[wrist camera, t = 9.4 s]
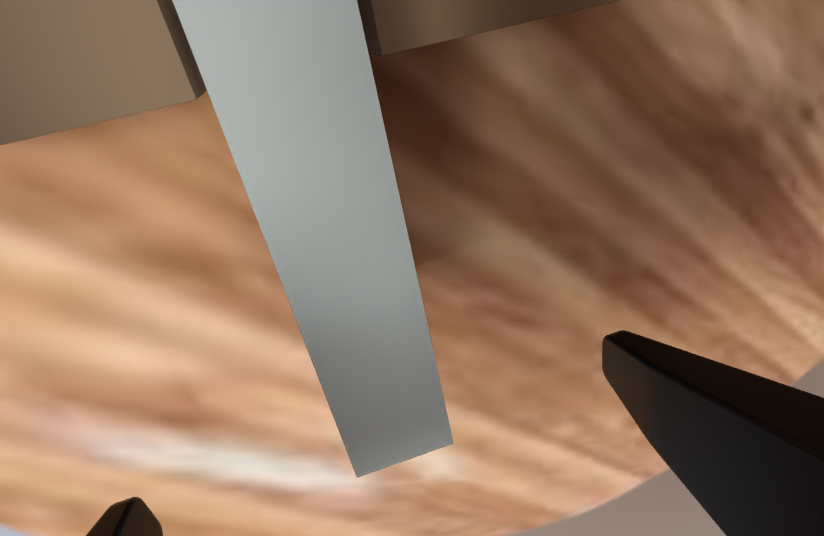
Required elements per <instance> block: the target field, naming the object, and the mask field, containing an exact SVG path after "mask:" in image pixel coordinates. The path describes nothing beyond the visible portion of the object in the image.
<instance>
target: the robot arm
mask: <svg viewBox="0 0 824 536" xmlns="http://www.w3.org/2000/svg"><path fill="white" fill-rule="evenodd" d="M602 368H603V372H604V375H605V377H606V379H607V380H608V382H609V383H610V385H611V386H612V388H613V389H614V391H615V392H616V394H617V395H618V397H619V398H620V400H621V401H622V403H623V404H624V406H625V407H626V409H627V410H628V412H629V413H630V415H631V416H632V418H633V419H634V421H635V422H636V424H637V425H638V427H639V428H640V430H641V431H642V433H643V434H644V435H645V437H646V438H647V440H648V441H649V442H650V444H651V445H652V446H653V448H654V449H655V450H656V451H657V453H658V454H659V455H660V456H661V457H662V459H663V460H664V461H665V462H666V463H667V465H668V466H669V467H670V468H671V470H672V471H673V472H674V473H675V474H676V476H677V477H678V478H679V479H680V480H681V482H682V483H683V484H684V485H685V486H686V487H687V489H688V490H689V491H690V492H691V494H692V495H693V496H694V497H695V498H696V500H697V501H698V502H699V503H700V504H701V506H702V507H703V508H704V509H705V510H706V512H707V513H708V514H709V515H710V516H711V518H712V519H713V520H714V521H715V523H716V524H717V525H718V526H719V527H720V529H721V530H722V531H723V532H724V533H725V535H727V536H824V398H822V397H820V396H817V395H813V394H811V393H808V392H805V391H802V390H799V389H796V388H793V387H790V386H787V385H784V384H781V383H778V382H775V381H772V380H770V379H767V378H764V377H761V376H758V375H755V374H752V373H749V372H746V371H743V370H740V369H737V368H734V367H731V366H728V365H725V364H722V363H719V362H717V361H714V360H711V359H708V358H705V357H702V356H699V355H696V354H693V353H690V352H687V351H684V350H681V349H678V348H675V347H672V346H669V345H666V344H664V343H661V342H658V341H655V340H652V339H649V338H646V337H643V336H640V335H637V334H634V333H631V332H628V331H624V330H622V331H618V332H615V333H612V334H609V335H606V336H605V337H604V339H603V342H602ZM86 536H163V531H162V527H161V525H160V523H159V521H158V520H157V518H156V517H155V516H154V514H153V513H152V512H151V510H150V509H149V508H148V507H147V505H146V504H145V503H144V501H143V500H142V499H141V498H139V497H132V498H129V499H126V500H123V501H120V502H117V503H115V504H113V505H111V506H110V507H109V508H108V509H107V510H106V512H105V513H104V514H103V515H102V517H101V518H100V519H99V520H98V521H97V523H96V524H95V525H94V526H93V528H92V529H91V530H90V531H89V532H88V534H87V535H86Z"/></svg>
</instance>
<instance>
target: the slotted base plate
mask: <svg viewBox="0 0 824 536" xmlns="http://www.w3.org/2000/svg"><path fill="white" fill-rule="evenodd" d="M614 1H618V0H357V3H358V8H359V12H360V17H361V21H362V26H363V30H364V35H365V40H366V44H367V49H368V53H372V54H377V55H381V56H384V55H388V54H392V53H396V52H401V51H405V50H409V49H413V48H418V47H422V46H426V45H431V44H435V43H439V42H443V41H448V40H452V39H456V38H460V37H465V36H469V35H473V34H477V33H482V32H486V31H490V30H495V29H499V28H503V27H507V26H512V25H516V24H520V23H524V22H529V21H533V20H537V19H541V18H546V17H550V16H554V15H559V14H563V13H567V12H571V11H576V10H580V9H584V8H588V7H593V6H597V5H601V4H605V3H610V2H614ZM206 91H207V89H206V86H205V84H204V81H203V78H202V76H201V73H200V71H199V68H198V65H197V63H196V60H195V58H194V55H193V53H192V50H191V47H190V45H189V42H188V40H187V37H186V34H185V32H184V29H183V27H182V24H181V22H180V19H179V16H178V14H177V11H176V9H175V6H174V3H173V1H172V0H0V145H4V144H8V143H12V142H17V141H21V140H25V139H29V138H34V137H38V136H42V135H46V134H51V133H55V132H59V131H64V130H68V129H72V128H76V127H81V126H85V125H89V124H93V123H98V122H102V121H106V120H110V119H115V118H119V117H123V116H128V115H132V114H136V113H140V112H145V111H149V110H153V109H157V108H162V107H166V106H170V105H174V104H179V103H183V102H187V101H192V100H196V99H197V98H199V97H200V96H201V95H202V94H203V93H205V92H206Z"/></svg>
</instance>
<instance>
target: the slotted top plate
mask: <svg viewBox="0 0 824 536" xmlns="http://www.w3.org/2000/svg"><path fill="white" fill-rule="evenodd" d="M172 1H173V3H174V6H175V9H176V11H177V14H178V16H179V19H180V22H181V24H182V27H183V29H184V32H185V34H186V37H187V40H188V42H189V45H190V47H191V50H192V53H193V55H194V58H195V60H196V63H197V65H198V68H199V71H200V73H201V76H202V78H203V81H204V84H205V86H206V89H207V91H208V94H209V96H210V99H211V102H212V104H213V107H214V109H215V112H216V115H217V117H218V120H219V122H220V125H221V127H222V130H223V133H224V135H225V138H226V140H227V143H228V146H229V148H230V151H231V153H232V156H233V158H234V161H235V164H236V166H237V169H238V171H239V174H240V177H241V179H242V182H243V184H244V187H245V189H246V192H247V195H248V197H249V200H250V202H251V205H252V208H253V210H254V213H255V215H256V218H257V221H258V223H259V226H260V228H261V231H262V233H263V236H264V239H265V241H266V244H267V246H268V249H269V252H270V254H271V257H272V259H273V262H274V264H275V267H276V270H277V272H278V275H279V277H280V280H281V283H282V285H283V288H284V290H285V293H286V295H287V298H288V301H289V303H290V306H291V308H292V311H293V314H294V316H295V319H296V321H297V324H298V326H299V329H300V332H301V334H302V337H303V339H304V342H305V345H306V347H307V350H308V352H309V355H310V357H311V360H312V363H313V365H314V368H315V370H316V373H317V376H318V378H319V381H320V383H321V386H322V388H323V391H324V394H325V396H326V399H327V401H328V404H329V407H330V409H331V412H332V414H333V417H334V419H335V422H336V425H337V427H338V430H339V432H340V435H341V438H342V440H343V443H344V445H345V448H346V450H347V453H348V456H349V458H350V461H351V463H352V466H353V469H354V471H355V474H356V476H357V478H358V477H361V476H363V475H366V474H369V473H372V472H375V471H377V470H380V469H383V468H386V467H389V466H392V465H394V464H397V463H400V462H403V461H406V460H408V459H411V458H414V457H417V456H420V455H422V454H425V453H428V452H431V451H434V450H436V449H439V448H442V447H445V446H448V445H450V444H453V439H452V434H451V430H450V425H449V420H448V416H447V411H446V407H445V402H444V397H443V393H442V388H441V384H440V379H439V374H438V370H437V365H436V361H435V356H434V352H433V347H432V342H431V338H430V333H429V329H428V324H427V319H426V315H425V310H424V306H423V301H422V296H421V292H420V287H419V283H418V278H417V274H416V269H415V264H414V260H413V255H412V251H411V246H410V241H409V237H408V232H407V228H406V223H405V219H404V214H403V209H402V205H401V200H400V196H399V191H398V186H397V182H396V177H395V173H394V168H393V163H392V159H391V154H390V150H389V145H388V141H387V136H386V131H385V127H384V122H383V118H382V113H381V108H380V104H379V99H378V95H377V90H376V85H375V81H374V76H373V72H372V67H371V63H370V58H369V53H368V49H367V44H366V40H365V35H364V30H363V26H362V21H361V17H360V12H359V8H358V3H357V0H172Z"/></svg>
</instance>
